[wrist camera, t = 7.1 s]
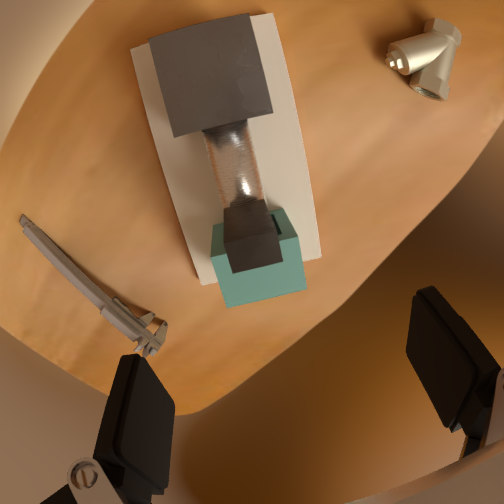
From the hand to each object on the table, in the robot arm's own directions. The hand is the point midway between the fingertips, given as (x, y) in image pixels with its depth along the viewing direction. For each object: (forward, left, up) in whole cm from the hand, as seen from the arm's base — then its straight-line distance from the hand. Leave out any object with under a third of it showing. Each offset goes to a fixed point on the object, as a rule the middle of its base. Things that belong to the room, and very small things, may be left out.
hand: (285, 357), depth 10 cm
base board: (0, -4, -20) cm, 20 cm away
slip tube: (0, -2, -18) cm, 18 cm away
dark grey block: (0, -10, -19) cm, 21 cm away
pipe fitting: (-19, -11, -20) cm, 30 cm away
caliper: (+18, +4, -20) cm, 27 cm away
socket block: (0, +4, -19) cm, 19 cm away
